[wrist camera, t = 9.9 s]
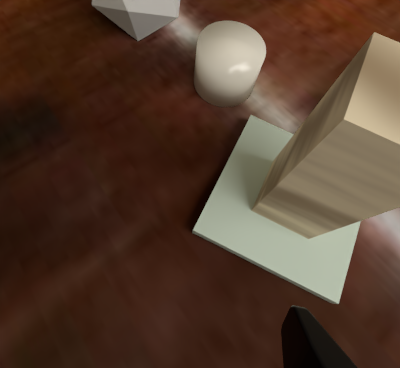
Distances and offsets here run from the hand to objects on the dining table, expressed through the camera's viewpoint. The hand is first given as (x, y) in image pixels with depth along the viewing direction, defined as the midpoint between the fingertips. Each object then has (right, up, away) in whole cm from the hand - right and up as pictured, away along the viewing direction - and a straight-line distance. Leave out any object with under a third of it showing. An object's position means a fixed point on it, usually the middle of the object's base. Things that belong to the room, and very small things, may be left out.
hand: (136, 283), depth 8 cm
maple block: (+9, +2, +15) cm, 18 cm away
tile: (+9, +1, +16) cm, 18 cm away
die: (-4, +20, +22) cm, 30 cm away
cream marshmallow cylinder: (+4, +13, +20) cm, 24 cm away
